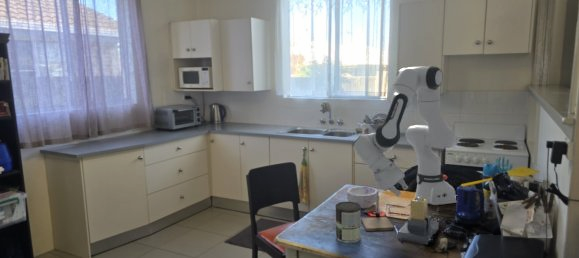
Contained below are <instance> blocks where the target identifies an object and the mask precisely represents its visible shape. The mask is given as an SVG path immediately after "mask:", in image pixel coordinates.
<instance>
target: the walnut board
mask: <svg viewBox="0 0 579 258" xmlns="http://www.w3.org/2000/svg"><path fill="white" fill-rule="evenodd" d="M360 223H361V224H362V225H363V227H364V229H365V231H366V232H371V231H372V232H373V231H377V232H378V231H379V232H381V231H394V230H395V226H394V225H393V224H392V223H391V221H390V220H389V218H388V217H387V216H385V217H376V218H370V217H360Z"/></svg>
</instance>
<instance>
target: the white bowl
mask: <svg viewBox="0 0 579 258" xmlns="http://www.w3.org/2000/svg"><path fill="white" fill-rule="evenodd" d="M346 191H347V192H346V194H347V195H346V196H347V197H346V198H347V202H355V203H358V204H360V206H361V208H360V209H369V208H372V207H373V205H374V204H376V196H377V191H378V189H376V188H374V187H371V186H370V187H369V186H354V187H351V188H349V189H348V190H346Z"/></svg>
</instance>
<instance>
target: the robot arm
mask: <svg viewBox="0 0 579 258" xmlns="http://www.w3.org/2000/svg"><path fill="white" fill-rule="evenodd" d="M443 77H444V76H443V72H442V70H441V69H440V67H437V66H434V65H431V66H428V65H427V66H426V65H418V66H410V67H409V66H405V67H402V68H400V69H399V70H398V71H397V73H396V77H395V78H394V81H393V83H392V85H391V88H390V90H389V93H388V94H389V95H388V103H389V104H390V107H389V110H388V112H387V114H386V117H385V120H384V121H383V122H382V123H381V124H379V125H378V127H377V129H376V131H375V132H372V133H368V134H364V133H362V134H361V135H359V136H358V137H357V138H356V140H355V141H354V143H353V145H352V146H353V147H352V148H353V150H354V152H355V153H356V155H357V156H358V157H359V159H360V160H361V161H362V162H363V163H365V164H366V166H367V168H368V169H369V171H371V172H372V174H373V177H374V180H375V182H376V183H377V185H379V187H380V188H381V190H383V191H384V192H387V191H388V190H389V191H390V192H391V193H393V194H394V195H395V196H396V197H399V196H401V195H402V192H401V191H400V190H398V189H397V188H396V187H395V185H396V184H400V185H401V188H402V189H403V191H406V190H407V189H409V186H408V185H407V184H406V182H405V180H404V178H405V177H406V176H405V173H404V171H403V170H402V169H401V168H400V166H399V165H398V164H397V163H396V161H395V159H393V158H391V157H386V155H385V154H386V153H388V152H391V150H392V149H393V148H394V147H395V145H396V144H398V143H399V140H400V139H401V127H400V126H401V125H400V124H401V122H402V119H403V116H404V114H405V111H406V109H408V108H409V107H410V106H411V104H412V102H413V100H414V98H415V95H416V105H417V107H416V108H417V110H416V111H417V115H418V117H419V118H420V119H421V120H423V121H424V122H425V123H426V125H425V124H414V125H410V126H409V127H407V129H406V131H405V139H406V141H407V142H408V143H409V145H410V146H411V147H412V149H414V152H415V154H416V157H417V172H416V183H417V185H416V190H415V193H414V194H415V195H414V197H418V196H420V197H422V198H426V199H428V200H427V204H430V205H433V206H439V205H447V204H455V203H456V196H457V194H456V190H455V188H454V187H453V186H452V185H451V184H449V182H447V181H445V180H447V179H448V176H447V175H446V174H443V173H442V172H441V170H442V169H441V163H442V161H441V158H440V156H439V155H438V154H437V153H435V152H434V151H433V149H432V148H435V149H442V150H443V149H450V148H453V146H454V145H455V143H456V140H457V135H456V132H455V131H454V130H453V129H452V128H451V127H450V126H449V125H448V124H447V123H446V121H445V119H444V117H443V114H442V109H441V108H442V107H441V105H442V104H441V92H440V86H441V85H442V83H443V79H444V78H443ZM456 204H457V203H456Z"/></svg>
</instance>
